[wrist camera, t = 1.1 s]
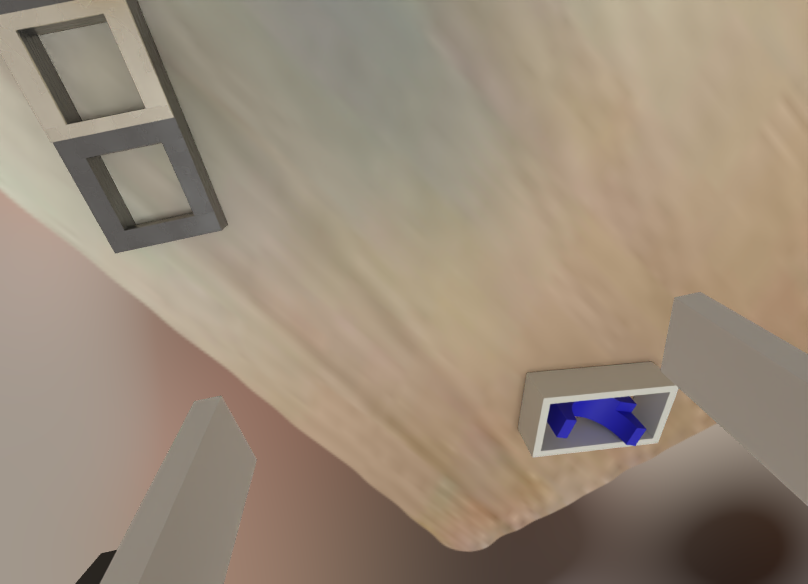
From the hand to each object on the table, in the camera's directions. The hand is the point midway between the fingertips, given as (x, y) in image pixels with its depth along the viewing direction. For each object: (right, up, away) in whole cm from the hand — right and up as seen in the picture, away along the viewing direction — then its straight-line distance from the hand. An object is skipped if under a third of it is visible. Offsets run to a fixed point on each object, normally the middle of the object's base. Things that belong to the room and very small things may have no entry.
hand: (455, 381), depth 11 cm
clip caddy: (+24, -12, +42) cm, 50 cm away
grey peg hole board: (-26, +20, +20) cm, 39 cm away
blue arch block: (+23, -12, +43) cm, 50 cm away
